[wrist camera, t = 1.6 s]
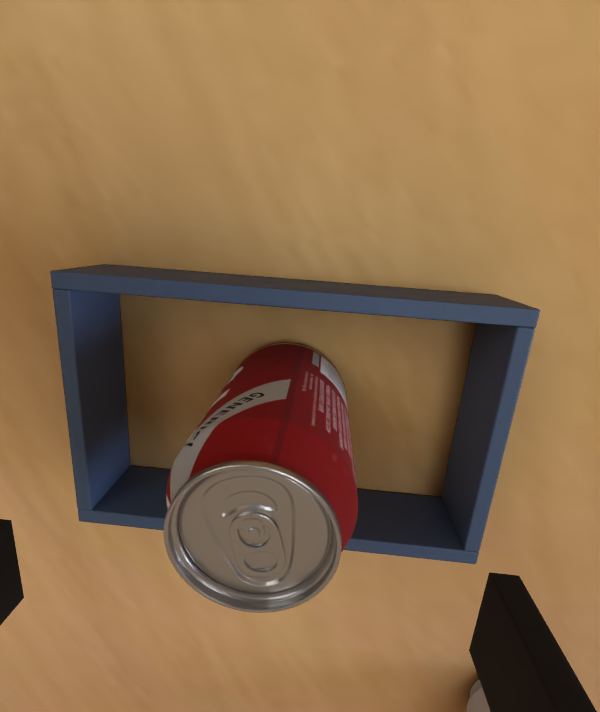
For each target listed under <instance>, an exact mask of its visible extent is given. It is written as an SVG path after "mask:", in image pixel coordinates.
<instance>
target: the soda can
mask: <svg viewBox="0 0 600 712" xmlns="http://www.w3.org/2000/svg"><path fill="white" fill-rule="evenodd" d="M166 500H167V508H168V511H167V514H166V517H165V522H164V541H165V546H166V550H167V553H168V556H169V558H170V560H171V562H172V564H173V566H174V568H175V569H176V571H177V572H178V573H179V575H180V576H181V577H182V578H183V579H184V581H185V582H186V583H187V584H188V585H190V586H191V587H192V588H193V589H194V590H195V591H197V592H198V593H199V594H201V595H203V596H204V597H206V598H208V599H209V600H211V601H213V602H215V603H218V604H220V605H223V606H225V607H228V608H232V609H235V610H240V611H246V612H258V613H264V612H276V611H281V610H286V609H289V608H293V607H295V606H298V605H300V604H302V603H304V602H306V601H308V600H310V599H311V598H313V597H314V596H316V595H317V594H318V593H319V592H320V591H321V590H323V589H324V588H325V586H326V585H327V584H328V583H329V581H330V580H331V579H332V577H333V575H334V573H335V571H336V569H337V567H338V564H339V560H340V556H341V552H342V551H343V549H344V548H345V546H346V545H347V543H348V541H349V540H350V538H351V536H352V533H353V531H354V528H355V524H356V520H357V514H358V496H357V486H356V478H355V469H354V460H353V452H352V443H351V434H350V426H349V417H348V408H347V400H346V391H345V387H344V383H343V380H342V378H341V376H340V374H339V372H338V371H337V369H336V368H335V366H334V365H333V364H332V363H331V362H330V361H329V360H328V359H327V358H326V357H325V356H323V355H322V354H321V353H319V352H317V351H316V350H314V349H312V348H309V347H307V346H303V345H300V344H294V343H278V344H272V345H268V346H265V347H263V348H260V349H258V350H257V351H255V352H253V353H252V354H250V355H249V356H248V357H247V358H246V359H245V360H244V361H243V362H242V363H241V364H240V365H239V367H238V368H237V370H236V371H235V373H234V374H233V375H232V377H231V378H230V380H229V381H228V383H227V384H226V386H225V387H224V388H223V390H222V391H221V393H220V394H219V396H218V397H217V399H216V400H215V401H214V403H213V404H212V406H211V407H210V409H209V410H208V412H207V413H206V414H205V416H204V417H203V419H202V420H201V422H200V423H199V425H198V426H197V428H196V429H195V430H194V432H193V433H192V435H191V436H190V438H189V439H188V441H187V442H186V443H185V445H184V446H183V448H182V449H181V451H180V452H179V454H178V455H177V457H176V459H175V461H174V463H173V465H172V467H171V470H170V473H169V477H168V482H167V490H166Z"/></svg>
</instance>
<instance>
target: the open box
mask: <svg viewBox="0 0 600 712" xmlns="http://www.w3.org/2000/svg"><path fill="white" fill-rule="evenodd" d="M50 273H51V282H52V288H54V289H53V298H54V306H55V315H56V324H57V333H58V341H59V350H60V359H61V367H62V376H63V385H64V394H65V402H66V411H67V420H68V428H69V437H70V446H71V455H72V463H73V472H74V481H75V489H76V498H77V507H78V515H79V521H83V522H92V523H102V524H111V525H120V526H129V527H138V528H148V529H157V530H164V522H165V517H166V514H167V511H168V508H167V500H166V490H167V482H168V477H169V473H170V470H167V469H157V468H147V467H137V466H130V452H129V436H128V421H127V406H126V390H125V375H124V360H123V345H122V329H121V314H120V299H119V294H127V295H139V296H151V297H164V298H176V299H188V300H200V301H213V302H225V303H237V304H250V305H262V306H274V307H286V308H299V309H311V310H323V311H335V312H348V313H360V314H372V315H384V316H397V317H409V318H421V319H434V320H446V321H458V322H470V323H477V325H476V330H475V334H474V339H473V344H472V349H471V354H470V359H469V364H468V368H467V373H466V378H465V383H464V388H463V393H462V397H461V402H460V407H459V412H458V417H457V422H456V427H455V431H454V436H453V441H452V446H451V451H450V456H449V460H448V465H447V470H446V475H445V480H444V485H443V490H442V494H441V497H433V496H423V495H413V494H403V493H393V492H384V491H374V490H364V489H357V496H358V514H357V520H356V524H355V528H354V531H353V533H352V536H351V538H350V540H349V541H348V543H347V545H346V546H345V548H344V549H343V550H351V551H360V552H369V553H378V554H387V555H397V556H406V557H415V558H424V559H434V560H443V561H452V562H461V563H471V564H476V562H477V558H478V551H479V549H480V545H481V542H482V538H483V534H484V530H485V526H486V522H487V518H488V514H489V510H490V506H491V502H492V498H493V494H494V490H495V486H496V482H497V478H498V474H499V470H500V466H501V462H502V458H503V454H504V450H505V446H506V442H507V438H508V434H509V430H510V426H511V422H512V418H513V415H514V411H515V407H516V403H517V399H518V395H519V391H520V387H521V383H522V379H523V375H524V371H525V367H526V363H527V359H528V355H529V351H530V347H531V343H532V339H533V335H534V331H535V329H534V328H535V327H536V325H537V321H538V317H539V313H540V310H539V309H536V308H533V307H530V306H527V305H524V304H521V303H519V302H516V301H513V300H510V299H507V298H504V297H501V296H498V295H490V294H478V293H465V292H452V291H439V290H426V289H414V288H401V287H388V286H375V285H363V284H350V283H337V282H324V281H311V280H299V279H286V278H273V277H260V276H247V275H235V274H222V273H209V272H196V271H184V270H171V269H158V268H145V267H132V266H120V265H107V264H103V265H95V266H87V267H78V268H70V269H62V270H54V271H51V272H50Z"/></svg>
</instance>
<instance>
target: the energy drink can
mask: <svg viewBox="0 0 600 712" xmlns="http://www.w3.org/2000/svg"><path fill="white" fill-rule="evenodd" d="M466 711H467V712H490V709H489V706H488V703H487V700H486V697H485V694H484V691H483V688H482V686H481V683H480V680H477V681H476V682H475V683H474V685H473V686H472V688H471V690H470V699H469V701H468V704H467V708H466Z"/></svg>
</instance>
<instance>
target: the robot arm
mask: <svg viewBox="0 0 600 712" xmlns="http://www.w3.org/2000/svg"><path fill="white" fill-rule="evenodd" d="M23 598H24V596H23V590H22V584H21V577H20V571H19V565H18V559H17V553H16V547H15V541H14V535H13V529H12V523H11V520H3V519H0V625H1V624H2V623H3V621H4V620H5V619H6V618H7V617H8V616H9V614H10V613H11V612H12V611H13V610H14V609H15V607H16V606H17V605H18V604H19V603H20V602H21V600H22V599H23ZM469 651H470V654H471V657H472V660H473V662H474V665H475V668H476V671H477V674H478V677H479V680H480V683H481V686H482V688H483V691H484V694H485V697H486V700H487V703H488V706H489V709H490V712H597V711H596V710H595V708H594V706H593V704H592V703H591V701H590V699H589V697H588V696H587V694H586V692H585V690H584V689H583V687H582V685H581V683H580V682H579V680H578V678H577V676H576V675H575V673H574V671H573V669H572V668H571V666H570V664H569V662H568V661H567V659H566V657H565V655H564V654H563V652H562V650H561V648H560V647H559V645H558V643H557V641H556V640H555V638H554V636H553V634H552V633H551V631H550V629H549V627H548V626H547V624H546V622H545V620H544V619H543V617H542V615H541V614H540V612H539V610H538V608H537V607H536V605H535V603H534V601H533V600H532V598H531V596H530V594H529V593H528V591H527V589H526V587H525V586H524V584H523V582H522V580H521V579H520V577H519V576H516V575H507V574H498V573H489V576H488V580H487V584H486V588H485V591H484V595H483V599H482V603H481V607H480V611H479V615H478V618H477V622H476V626H475V630H474V634H473V638H472V642H471V645H470V649H469Z"/></svg>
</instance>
